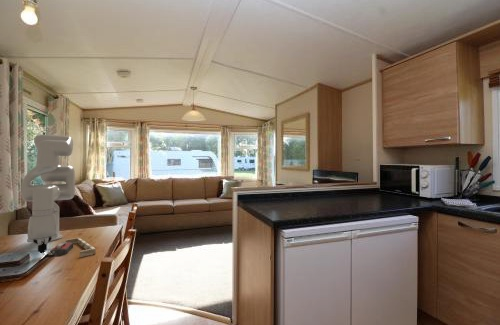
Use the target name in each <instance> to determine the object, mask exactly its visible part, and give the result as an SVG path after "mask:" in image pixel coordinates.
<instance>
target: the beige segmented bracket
mask: <svg viewBox="0 0 500 325" xmlns="http://www.w3.org/2000/svg"><path fill="white" fill-rule="evenodd" d="M65 242H72V243H73V245H74V244H78V245H79V244H80V245H79V246H80V247H82V248H83V250H80V251H79V257H80V258H84V257H87V256H92V255H95V254H96V253H97V252H96V250H97V249H96V247H94V246H93V245H92V244H89V243H88V242H87V241H85V240H84V239H82V238H81V237H75V238H69V239H65Z"/></svg>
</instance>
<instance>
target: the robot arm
mask: <svg viewBox="0 0 500 325" xmlns="http://www.w3.org/2000/svg"><path fill="white" fill-rule="evenodd" d="M33 140H34V145H35V148H36V150H37V153H36V162H35V163H36V164H35V166H34V167H33V168H32V169H30V170H29V171H28V172H27V173H26V174H25V176H24V177H23V179H22V183H21V189H20V190H21V192H20V193H21V194H20V195H21V196H20V197H21V199H22V200H23V201H25V202H32V209H31V212H32V215H31V216H30V217H29V219H28V225H27V239H26V242H27V243H35V244H36V245H37V252H38V253H39V254H40V253H42V254H44V252H46V251H47V250H48V249H47V248H48V243H49V242H52V241H57V240H60V239H62V238H63V234H61V233H60V206H59V205H58V204H57V203H56V201H65V200H66V201H68V200H72V199H73V198H74V197H75V192H76V191H75V190H76V183H75V182H76V174H75V173H76V172H75V168H74V167H73V166H71V165H60V161H61V160H60V157H69V156H71V155H72V154H73V149H74V140H73V138H72V137H71V136H69V135H58V134H57V135H56V134H37V135H35V136H34V139H33ZM37 177H40V179H41V181H43V182H46V183H47V182H48V183H47V184H46V183H45V184H42V185H41V184H33V185H31V183H32V181H33V180H35V179H36V178H37ZM49 182H50V183H49ZM51 182H52V183H51ZM53 182H54V183H53ZM55 182H61V183H55ZM62 182H64V183H62Z"/></svg>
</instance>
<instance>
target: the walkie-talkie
mask: <svg viewBox="0 0 500 325" xmlns="http://www.w3.org/2000/svg"><path fill="white" fill-rule="evenodd" d="M73 248H74V244H73V243H72V242H66V241H65V242H64V241H63V242H60V243H58V244H57V245H56V246H54V247H52V248H48V250H50V252H51V253H52V255H54V256H62V255H67V254H68V253H69V252H70V251H71V250H72V249H73Z"/></svg>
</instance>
